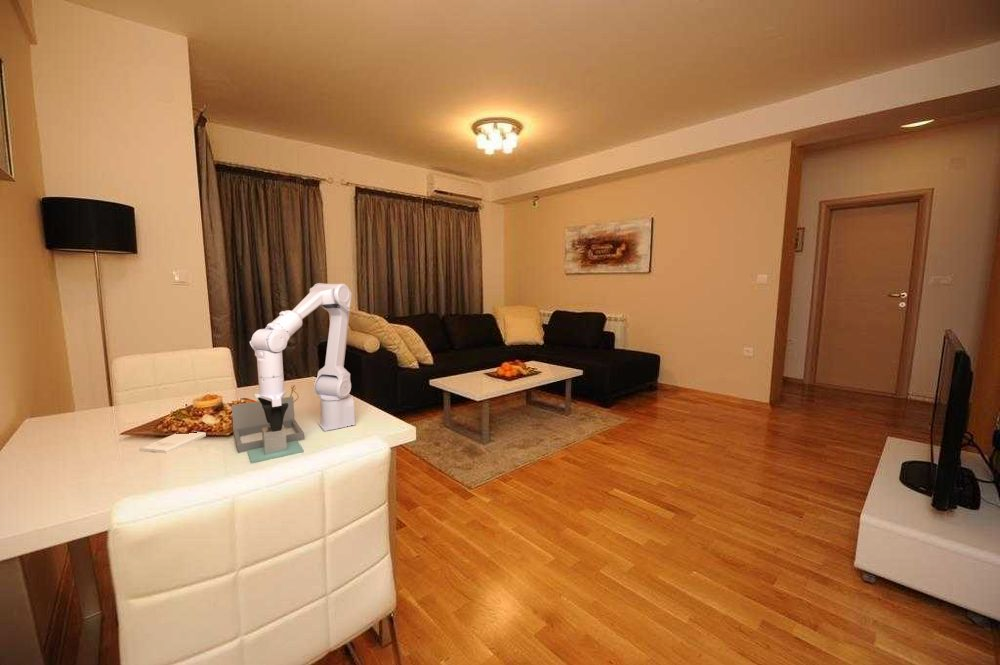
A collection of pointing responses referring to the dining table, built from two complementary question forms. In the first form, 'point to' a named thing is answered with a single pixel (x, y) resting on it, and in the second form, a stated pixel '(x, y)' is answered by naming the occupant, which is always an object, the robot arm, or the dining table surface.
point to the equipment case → (260, 423)
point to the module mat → (259, 455)
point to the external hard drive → (172, 442)
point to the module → (274, 440)
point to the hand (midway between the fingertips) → (274, 426)
